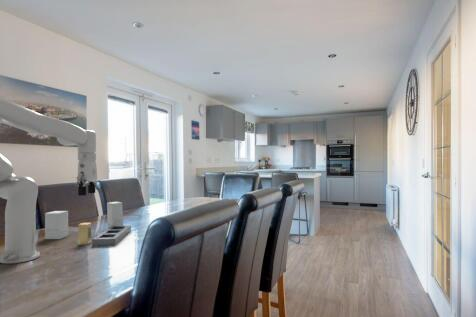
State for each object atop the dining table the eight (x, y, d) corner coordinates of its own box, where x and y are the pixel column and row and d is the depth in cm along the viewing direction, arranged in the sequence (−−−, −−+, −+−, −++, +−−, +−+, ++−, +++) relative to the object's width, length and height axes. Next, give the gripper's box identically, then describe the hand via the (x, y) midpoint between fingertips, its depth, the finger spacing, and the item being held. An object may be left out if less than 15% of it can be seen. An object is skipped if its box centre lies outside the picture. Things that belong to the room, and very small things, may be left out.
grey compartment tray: (115, 245, 133) (115, 238, 133) (91, 246, 132) (91, 239, 132) (130, 231, 161) (130, 225, 161) (111, 231, 160) (111, 225, 160)
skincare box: (123, 229, 165) (123, 202, 165) (112, 231, 161) (112, 203, 161) (117, 227, 171) (117, 200, 171) (106, 228, 167) (106, 201, 167)
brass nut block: (87, 244, 135) (87, 224, 135) (78, 244, 135) (78, 224, 135) (91, 242, 139) (91, 222, 139) (82, 242, 138) (82, 222, 139)
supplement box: (68, 235, 151) (69, 210, 151) (58, 239, 144) (58, 213, 144) (55, 235, 152) (55, 210, 152) (44, 239, 144) (44, 213, 144)
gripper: (86, 156, 130) (86, 196, 130) (102, 157, 147) (102, 192, 147) (69, 156, 130) (69, 196, 129) (87, 157, 147) (87, 192, 147)
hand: (87, 194), depth 138 cm, fingers open, 9 cm apart
